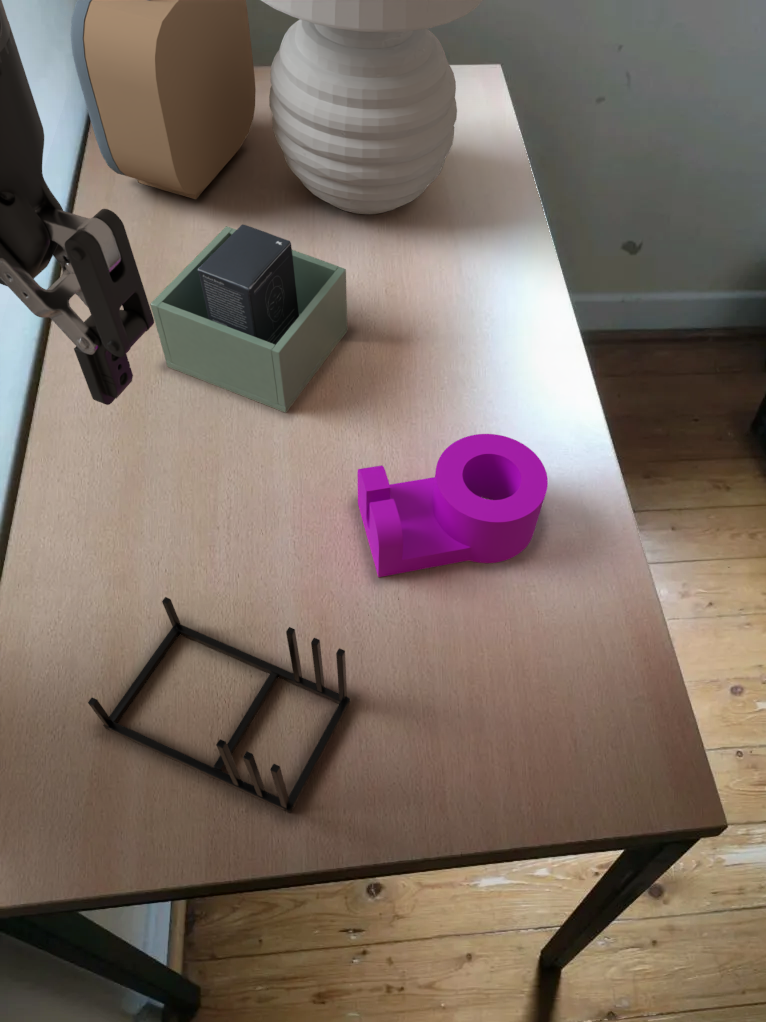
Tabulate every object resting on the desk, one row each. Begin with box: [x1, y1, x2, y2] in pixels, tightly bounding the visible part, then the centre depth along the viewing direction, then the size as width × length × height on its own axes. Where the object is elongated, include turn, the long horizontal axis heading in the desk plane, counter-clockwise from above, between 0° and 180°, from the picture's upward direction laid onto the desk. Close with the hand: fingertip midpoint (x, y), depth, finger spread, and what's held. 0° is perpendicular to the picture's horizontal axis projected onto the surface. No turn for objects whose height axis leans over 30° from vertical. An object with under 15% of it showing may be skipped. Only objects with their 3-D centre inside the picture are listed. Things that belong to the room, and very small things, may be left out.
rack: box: [87, 596, 351, 814], centre depth 60 cm, size 16×10×9 cm, turn 67°
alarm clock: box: [70, 0, 257, 200], centre depth 90 cm, size 21×10×22 cm, turn 162°
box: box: [198, 223, 299, 345], centre depth 79 cm, size 8×6×11 cm
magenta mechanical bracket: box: [357, 433, 549, 578], centre depth 72 cm, size 16×10×6 cm, turn 106°
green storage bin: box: [149, 226, 348, 414], centre depth 81 cm, size 14×14×8 cm
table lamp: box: [260, 0, 484, 215], centre depth 83 cm, size 25×25×40 cm
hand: (42, 365), depth 43 cm, fingers open, 8 cm apart
